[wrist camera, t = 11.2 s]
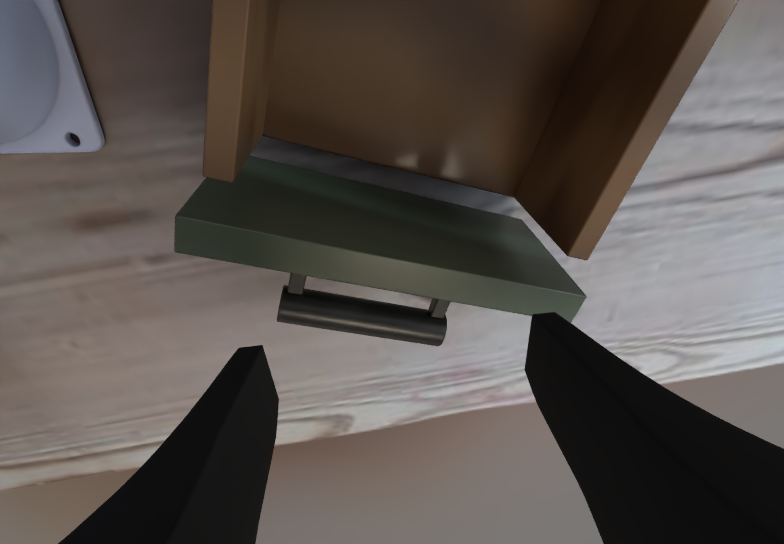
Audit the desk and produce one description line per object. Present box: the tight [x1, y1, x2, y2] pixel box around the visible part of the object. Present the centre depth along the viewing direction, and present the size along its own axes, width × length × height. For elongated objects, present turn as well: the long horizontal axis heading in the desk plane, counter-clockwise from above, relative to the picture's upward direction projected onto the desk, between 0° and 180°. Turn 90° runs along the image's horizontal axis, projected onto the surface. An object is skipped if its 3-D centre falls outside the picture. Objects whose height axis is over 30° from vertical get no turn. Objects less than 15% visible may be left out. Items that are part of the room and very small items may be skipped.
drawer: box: [174, 0, 739, 346], centre depth 14 cm, size 18×13×6 cm
